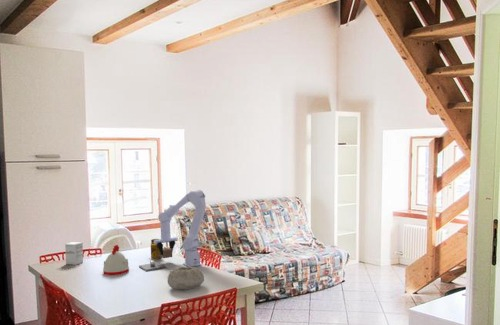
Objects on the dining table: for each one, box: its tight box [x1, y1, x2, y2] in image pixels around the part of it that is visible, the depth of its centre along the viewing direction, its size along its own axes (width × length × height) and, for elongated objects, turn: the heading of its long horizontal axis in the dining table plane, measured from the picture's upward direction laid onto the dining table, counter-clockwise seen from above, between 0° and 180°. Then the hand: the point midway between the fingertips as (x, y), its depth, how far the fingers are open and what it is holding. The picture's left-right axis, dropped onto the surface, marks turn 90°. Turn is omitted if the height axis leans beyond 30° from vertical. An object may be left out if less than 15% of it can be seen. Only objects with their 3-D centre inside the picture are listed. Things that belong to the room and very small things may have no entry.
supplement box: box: [64, 241, 84, 266], centre depth 275 cm, size 7×7×13 cm
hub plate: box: [138, 259, 167, 272], centre depth 260 cm, size 12×12×4 cm
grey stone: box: [167, 266, 205, 291], centre depth 218 cm, size 18×18×10 cm
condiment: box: [148, 238, 163, 260], centre depth 284 cm, size 7×8×12 cm
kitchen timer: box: [102, 244, 130, 276], centre depth 252 cm, size 14×14×15 cm
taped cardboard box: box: [161, 246, 173, 259], centre depth 271 cm, size 5×5×6 cm
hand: (166, 254), depth 271 cm, fingers closed on taped cardboard box, 5 cm apart
